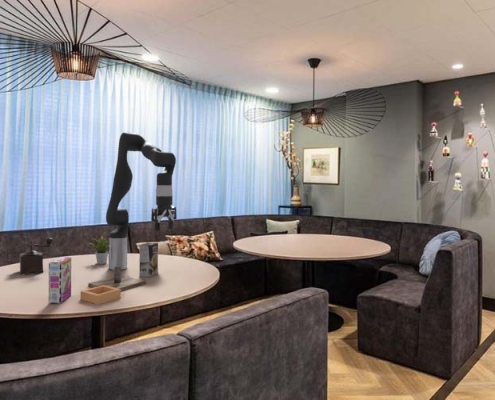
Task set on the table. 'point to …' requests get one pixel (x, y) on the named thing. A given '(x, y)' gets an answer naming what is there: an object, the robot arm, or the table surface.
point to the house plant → (101, 251)
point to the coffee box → (148, 259)
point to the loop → (100, 294)
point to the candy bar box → (59, 280)
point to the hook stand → (118, 281)
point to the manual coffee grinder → (33, 259)
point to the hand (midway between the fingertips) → (164, 229)
